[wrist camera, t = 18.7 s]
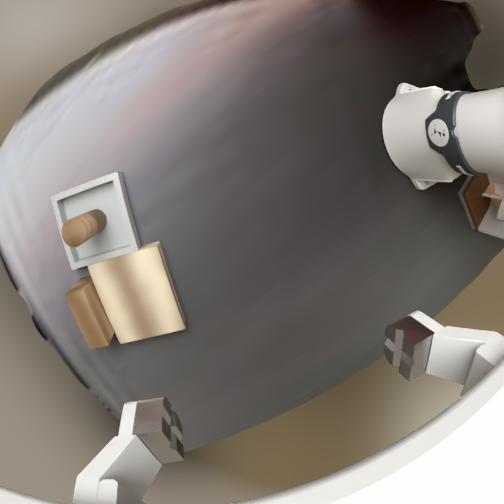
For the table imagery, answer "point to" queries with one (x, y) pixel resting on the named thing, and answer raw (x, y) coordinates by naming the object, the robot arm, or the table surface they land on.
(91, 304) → the wooden block
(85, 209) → the tray
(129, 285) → the board
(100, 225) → the dowel
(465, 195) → the display case
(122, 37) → the table surface
